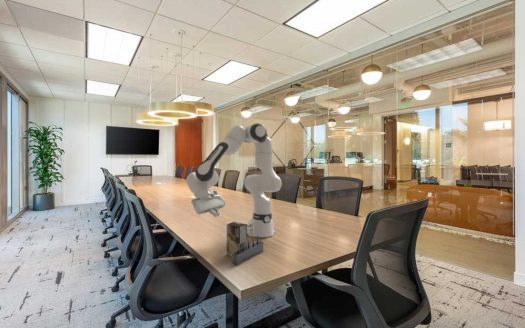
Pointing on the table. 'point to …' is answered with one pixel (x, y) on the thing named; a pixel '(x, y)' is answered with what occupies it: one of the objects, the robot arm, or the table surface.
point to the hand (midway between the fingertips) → (217, 216)
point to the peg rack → (247, 251)
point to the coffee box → (236, 237)
